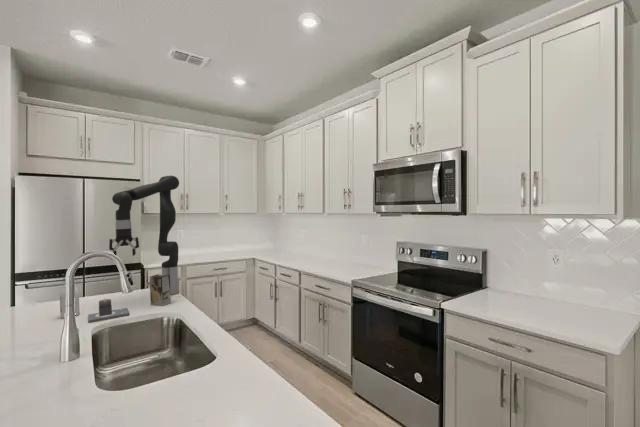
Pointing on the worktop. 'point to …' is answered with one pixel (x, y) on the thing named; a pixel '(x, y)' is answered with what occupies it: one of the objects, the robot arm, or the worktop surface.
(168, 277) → the coffee box
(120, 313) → the control panel
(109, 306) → the knob
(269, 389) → the worktop surface
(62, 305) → the milk bottle
